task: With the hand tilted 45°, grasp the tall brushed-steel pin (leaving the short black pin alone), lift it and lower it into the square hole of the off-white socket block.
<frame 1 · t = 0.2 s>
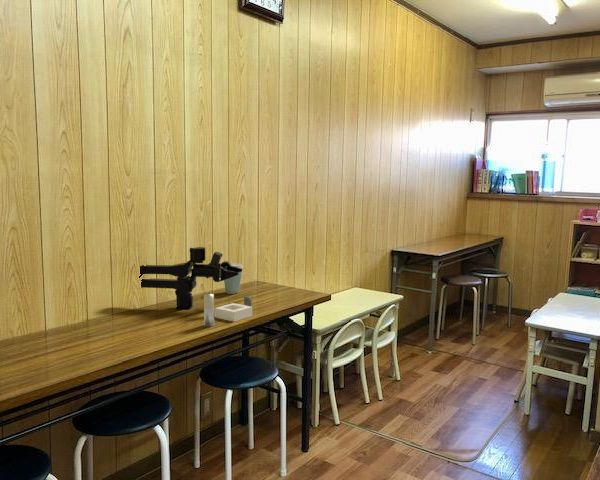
hand: (240, 271, 233), 17 cm above the table, fingers open, 9 cm apart
disposable coffee cup: (232, 293, 268), on the table
socket block: (233, 316, 221), on the table
steel pin: (209, 325, 208), on the table
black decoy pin: (247, 310, 232), on the table
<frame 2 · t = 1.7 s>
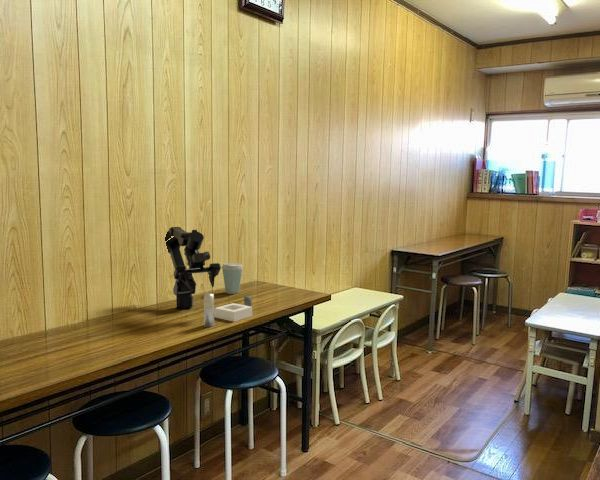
hand: (202, 287, 214), 14 cm above the table, fingers open, 9 cm apart
nothing on the table moved.
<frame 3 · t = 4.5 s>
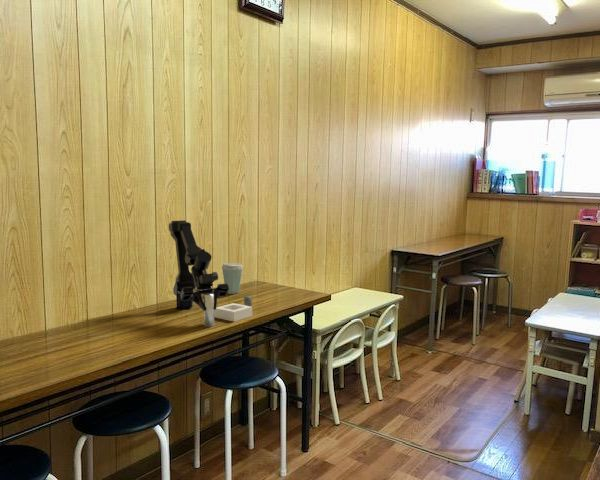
hand: (210, 309, 206), 7 cm above the table, fingers closed on steel pin, 4 cm apart
steel pin: (209, 325, 208), on the table, touching gripper
everything else where it was.
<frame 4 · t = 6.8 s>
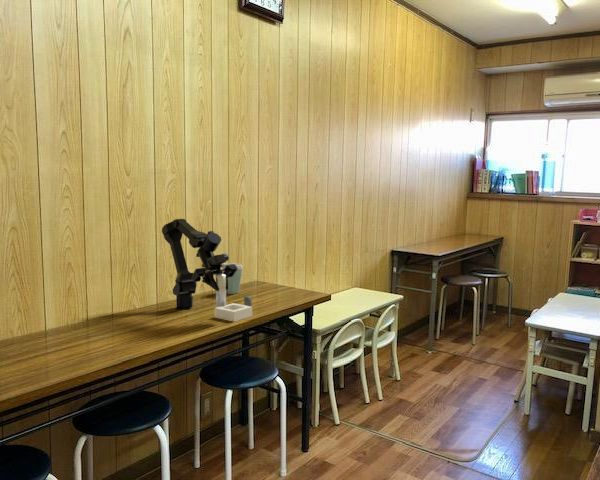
hand: (222, 289, 211), 13 cm above the table, fingers closed on steel pin, 4 cm apart
steel pin: (221, 305, 212), point 7 cm above the table, touching gripper
everything else where it was.
when the fingers open (8 cm above the table, at t = 9.2 s): steel pin drops 1 cm, resting in socket block.
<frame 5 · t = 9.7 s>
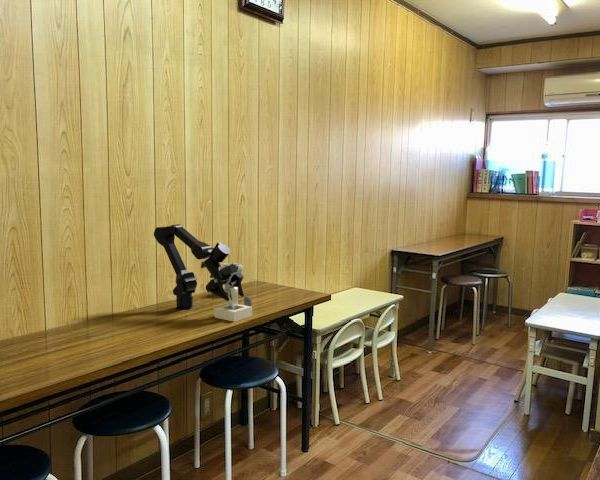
hand: (236, 298, 220), 8 cm above the table, fingers open, 9 cm apart
steel pin: (233, 316, 221), resting in socket block
everything else where it was.
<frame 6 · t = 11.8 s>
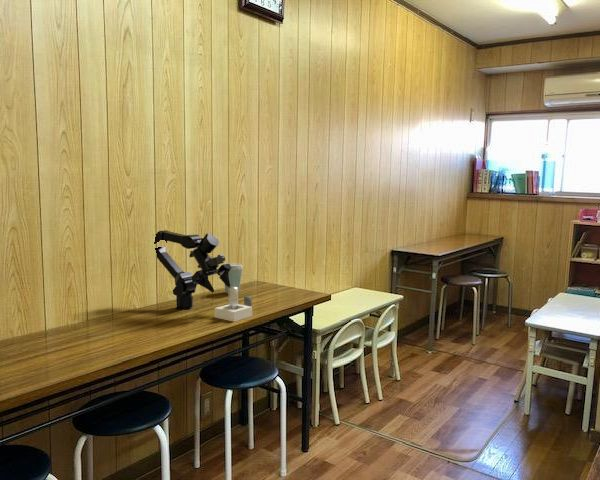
hand: (221, 289, 223), 11 cm above the table, fingers open, 9 cm apart
nothing on the table moved.
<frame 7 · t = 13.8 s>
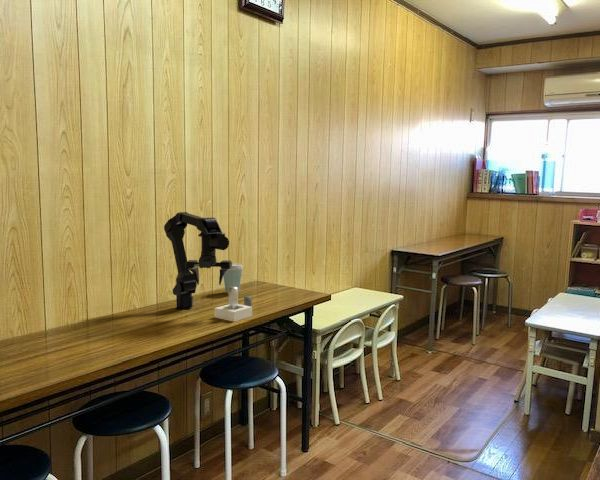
hand: (209, 284, 223), 13 cm above the table, fingers open, 9 cm apart
nothing on the table moved.
at the end: steel pin 0.1 cm off-centre on the socket block, point 0.0 cm above the socket block's base; steel pin tilted 0°; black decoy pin moved 0.0 cm from its start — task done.
